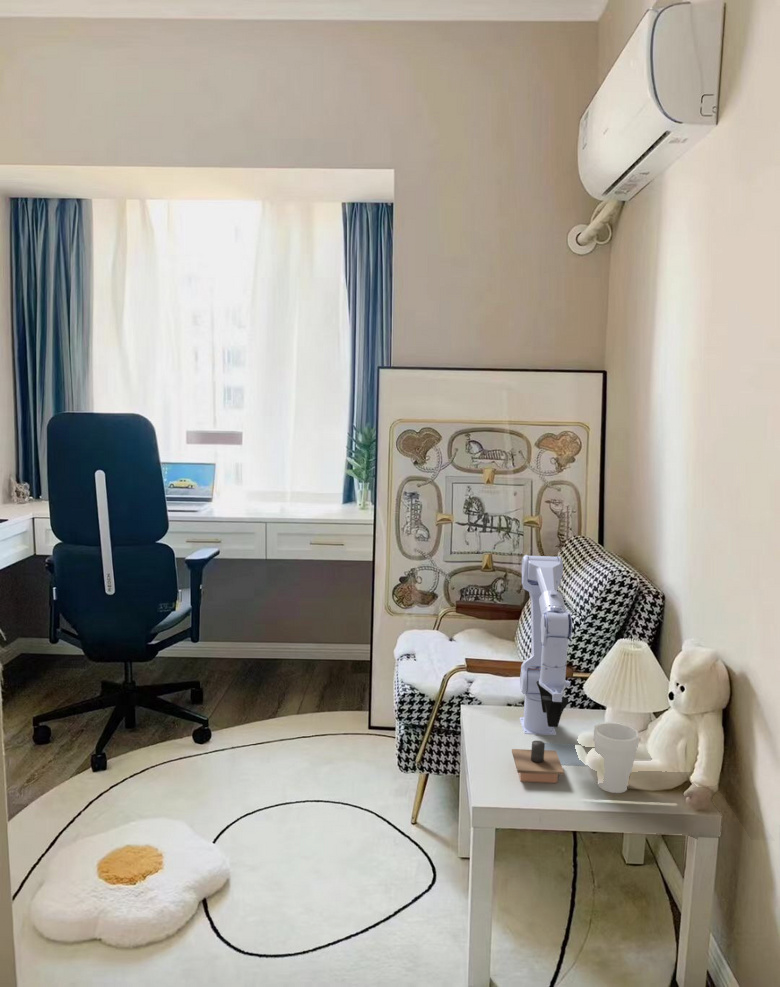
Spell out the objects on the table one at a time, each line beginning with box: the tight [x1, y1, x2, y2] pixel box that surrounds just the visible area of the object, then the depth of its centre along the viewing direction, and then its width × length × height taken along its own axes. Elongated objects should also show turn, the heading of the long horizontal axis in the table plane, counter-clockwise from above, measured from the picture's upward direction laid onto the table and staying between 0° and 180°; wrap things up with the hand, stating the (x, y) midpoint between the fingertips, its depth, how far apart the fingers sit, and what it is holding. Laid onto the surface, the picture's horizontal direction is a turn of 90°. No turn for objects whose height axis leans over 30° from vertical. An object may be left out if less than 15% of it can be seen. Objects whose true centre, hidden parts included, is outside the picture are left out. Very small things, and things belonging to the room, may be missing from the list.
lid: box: [511, 739, 565, 776], centre depth 183 cm, size 10×10×5 cm
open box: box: [517, 772, 559, 784], centre depth 183 cm, size 8×8×3 cm
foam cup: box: [593, 721, 640, 794], centre depth 178 cm, size 10×9×13 cm
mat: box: [544, 742, 586, 767], centre depth 193 cm, size 11×11×1 cm
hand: (549, 719), depth 191 cm, fingers open, 7 cm apart
